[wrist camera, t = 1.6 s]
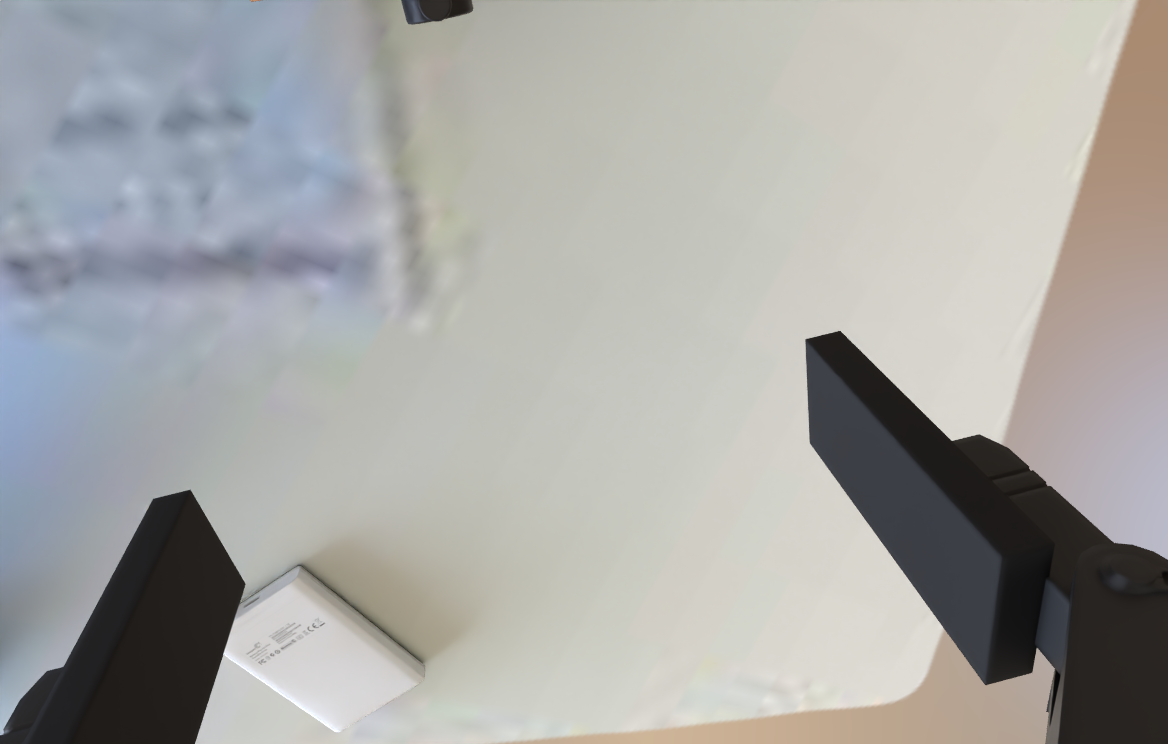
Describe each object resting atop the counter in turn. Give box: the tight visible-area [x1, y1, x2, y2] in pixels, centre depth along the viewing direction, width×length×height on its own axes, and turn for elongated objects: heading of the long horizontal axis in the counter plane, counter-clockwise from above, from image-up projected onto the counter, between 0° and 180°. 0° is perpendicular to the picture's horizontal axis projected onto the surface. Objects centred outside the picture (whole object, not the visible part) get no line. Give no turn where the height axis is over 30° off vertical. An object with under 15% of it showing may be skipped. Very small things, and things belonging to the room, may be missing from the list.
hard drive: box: [224, 566, 425, 732], centre depth 52 cm, size 2×8×12 cm
